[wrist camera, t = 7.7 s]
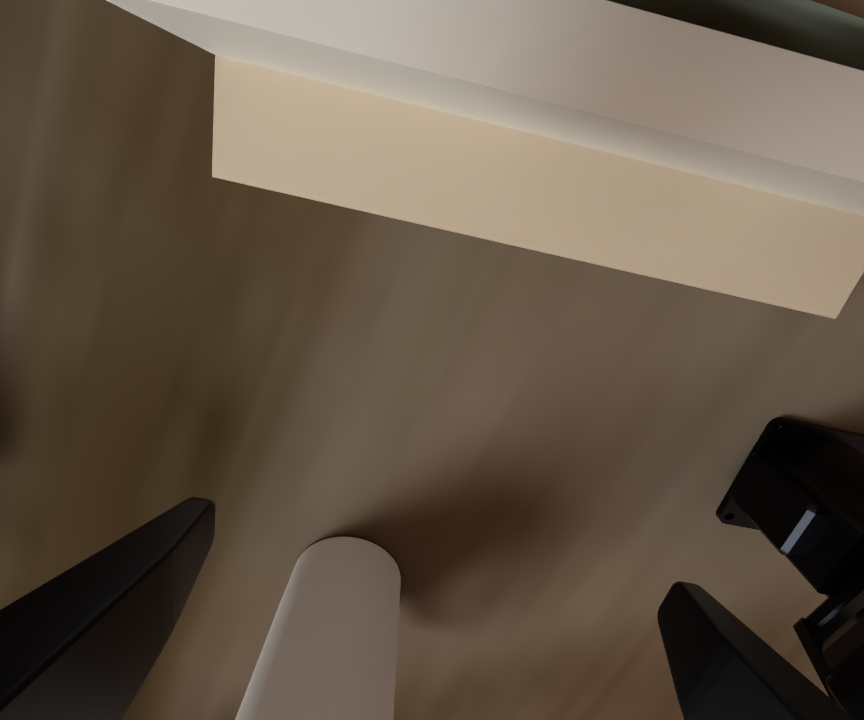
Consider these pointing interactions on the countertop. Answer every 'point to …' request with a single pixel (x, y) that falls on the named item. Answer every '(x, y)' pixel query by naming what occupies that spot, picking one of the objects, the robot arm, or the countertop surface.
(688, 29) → the long wooden tray
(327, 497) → the countertop surface
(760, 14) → the picture frame
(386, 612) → the mug
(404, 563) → the countertop surface
